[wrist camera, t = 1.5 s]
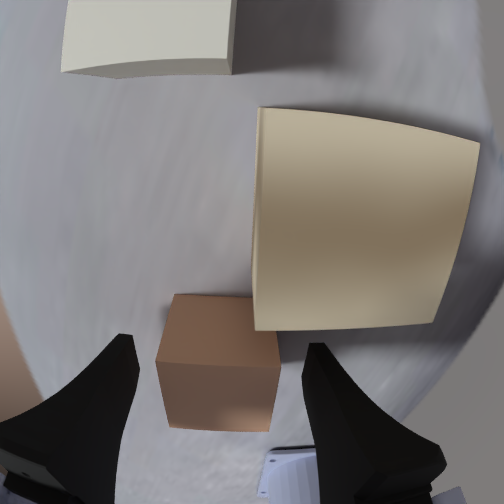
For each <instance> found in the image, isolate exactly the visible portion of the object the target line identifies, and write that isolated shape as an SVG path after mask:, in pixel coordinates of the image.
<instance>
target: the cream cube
mask: <svg viewBox="0 0 504 504" xmlns="http://www.w3.org/2000/svg"><path fill="white" fill-rule="evenodd" d="M236 9H237V0H69V1H68V7H67V14H66V21H65V29H64V38H63V49H62V62H61V72H62V73H73V74H83V75H91V76H99V77H107V78H114V79H122V78H133V77H146V76H163V75H232V62H233V48H234V35H235V22H236Z"/></svg>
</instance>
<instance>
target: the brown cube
mask: <svg viewBox="0 0 504 504" xmlns="http://www.w3.org/2000/svg"><path fill="white" fill-rule="evenodd" d="M155 362H156V367H157V372H158V377H159V382H160V387H161V392H162V397H163V401H164V406H165V410H166V414H167V419H168V423H169V427H172V428H183V429H195V430H211V431H236V432H269V428H270V423H271V418H272V413H273V408H274V403H275V398H276V393H277V387H278V382H279V377H280V371H281V361H280V354H279V347H278V340H277V334H276V331H255V324H254V307H253V298H247V297H222V296H201V295H182V294H174V297H173V301H172V304H171V307H170V311H169V314H168V318H167V321H166V325H165V328H164V332H163V335H162V339H161V342H160V346H159V349H158V353H157V357H156V360H155Z"/></svg>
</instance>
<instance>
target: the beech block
mask: <svg viewBox="0 0 504 504" xmlns="http://www.w3.org/2000/svg"><path fill="white" fill-rule="evenodd" d="M479 148H480V143H478V142H474V141H471V140H467V139H464V138H460V137H456V136H453V135H449V134H445V133H441V132H437V131H433V130H428V129H424V128H420V127H415V126H410V125H405V124H400V123H395V122H389V121H383V120H378V119H371V118H365V117H358V116H351V115H344V114H336V113H327V112H318V111H308V110H296V109H283V108H265V107H258V113H257V137H256V160H255V184H254V208H253V232H252V256H251V275H252V291H253V307H254V324H255V331H292V330H332V329H355V328H373V327H388V326H402V325H414V324H425V323H433V320H434V318H435V315H436V312H437V310H438V307H439V305H440V302H441V299H442V296H443V294H444V291H445V288H446V285H447V282H448V279H449V276H450V273H451V270H452V267H453V264H454V261H455V257H456V254H457V251H458V247H459V244H460V240H461V236H462V233H463V229H464V225H465V221H466V217H467V213H468V208H469V204H470V199H471V194H472V190H473V184H474V179H475V174H476V168H477V162H478V155H479Z"/></svg>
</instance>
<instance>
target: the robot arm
mask: <svg viewBox="0 0 504 504" xmlns="http://www.w3.org/2000/svg"><path fill="white" fill-rule="evenodd" d="M139 372H140V367H139V363H138V358H137V354H136V350H135V345H134V340H133V336H132V335H128V334H118V335H117V336H116V337H115V338H114V339H113V340H112V341H111V342H110V343H109V344H108V345H107V346H106V347H105V349H104V350H103V351H102V352H101V353H100V354H99V355H98V356H97V357H96V358H95V359H94V360H93V361H92V362H91V363H90V364H89V365H88V366H87V367H86V368H85V369H84V370H83V371H82V372H81V373H80V374H79V375H78V376H77V377H75V378H74V379H73V380H72V381H71V382H70V383H69V384H67V385H66V386H65V387H64V388H62V389H61V390H60V391H58V392H57V393H56V394H54V395H53V396H51V397H50V398H48V399H47V400H45V401H44V402H42V403H40V404H39V405H37V406H35V407H34V408H32V409H30V410H28V411H26V412H24V413H22V414H20V415H18V416H15V417H13V418H10V419H8V420H6V421H3V422H0V464H1V465H2V466H3V467H4V468H5V469H6V470H7V471H8V474H7V476H4V475H3V474H1V473H0V504H114V501H115V483H116V472H117V464H118V456H119V450H120V444H121V439H122V435H123V431H124V427H125V424H126V421H127V418H128V414H129V411H130V408H131V405H132V402H133V399H134V395H135V392H136V388H137V383H138V378H139ZM301 377H302V387H303V396H304V401H305V405H306V410H307V414H308V418H309V422H310V426H311V430H312V435H313V439H314V444H315V448H310V449H295V450H273V451H269V452H268V453H267V454H266V458H265V462H264V467H263V471H262V475H261V479H260V483H259V487H258V491H257V496H258V497H262V498H263V497H269V504H467V503H466V501H465V498H464V495H463V493H462V490H461V487H459V486H458V487H456V488H453V489H451V490H448V491H446V492H443V493H440V494H438V495H436V496H434V497H432V498H431V496H430V493H429V492H431V491H432V486H431V484H430V483H431V482H432V481H433V480H434V479H435V478H437V477H438V476H439V475H440V474H441V473H442V472H443V471H444V470H445V468H446V466H447V463H446V460H445V457H444V455H443V452H442V450H441V448H440V446H439V445H437V444H435V443H433V442H431V441H429V440H427V439H425V438H423V437H421V436H419V435H418V434H416V433H414V432H413V431H411V430H409V429H408V428H406V427H405V426H403V425H402V424H400V423H399V422H397V421H396V420H395V419H393V418H392V417H391V416H389V415H388V414H387V413H385V412H384V411H383V410H382V409H381V408H380V407H378V406H377V405H376V404H375V403H374V402H373V401H372V400H371V399H370V398H369V397H368V396H367V395H366V394H365V393H364V392H363V391H362V390H361V389H360V388H359V387H358V385H357V384H356V383H355V382H354V381H353V380H352V378H351V377H350V376H349V375H348V374H347V372H346V371H345V370H344V369H343V367H342V366H341V365H340V363H339V362H338V361H337V359H336V358H335V357H334V355H333V354H332V353H331V351H330V350H329V348H328V347H327V346H326V344H325V343H309V347H308V351H307V356H306V360H305V364H304V368H303V372H302V376H301Z"/></svg>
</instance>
